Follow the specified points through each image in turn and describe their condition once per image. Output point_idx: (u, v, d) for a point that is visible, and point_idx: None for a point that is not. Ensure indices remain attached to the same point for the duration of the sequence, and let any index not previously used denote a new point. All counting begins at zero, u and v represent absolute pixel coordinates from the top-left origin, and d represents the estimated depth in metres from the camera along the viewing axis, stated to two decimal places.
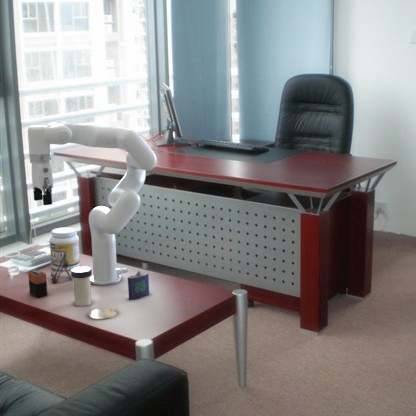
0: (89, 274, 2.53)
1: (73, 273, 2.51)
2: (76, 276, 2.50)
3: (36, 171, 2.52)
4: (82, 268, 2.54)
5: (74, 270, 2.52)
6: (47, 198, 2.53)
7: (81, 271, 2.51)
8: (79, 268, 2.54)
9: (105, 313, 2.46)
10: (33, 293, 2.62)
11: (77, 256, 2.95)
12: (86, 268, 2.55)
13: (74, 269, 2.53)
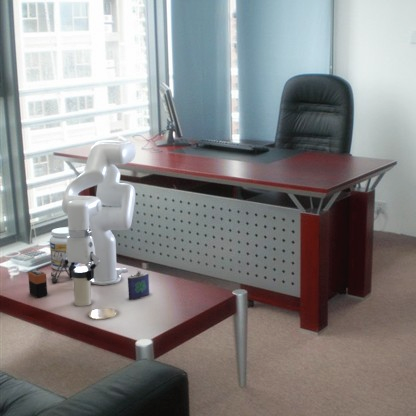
0: None
1: (73, 273, 2.51)
2: (76, 276, 2.50)
3: (80, 247, 2.48)
4: (82, 268, 2.54)
5: (74, 270, 2.52)
6: (91, 273, 2.52)
7: (81, 271, 2.51)
8: (79, 268, 2.54)
9: (105, 313, 2.46)
10: (33, 293, 2.62)
11: None
12: (86, 268, 2.55)
13: (74, 269, 2.53)
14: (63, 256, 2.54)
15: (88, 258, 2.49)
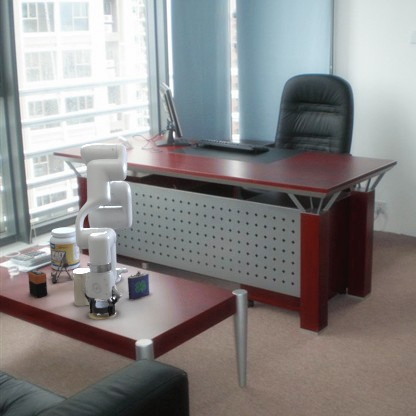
0: None
1: None
2: None
3: None
4: (100, 305, 2.44)
5: (108, 303, 2.46)
6: None
7: (101, 301, 2.47)
8: (103, 305, 2.44)
9: (105, 313, 2.46)
10: (33, 293, 2.62)
11: (77, 256, 2.95)
12: (96, 305, 2.44)
13: None
14: None
15: None
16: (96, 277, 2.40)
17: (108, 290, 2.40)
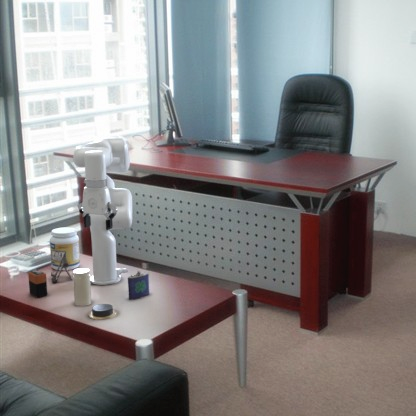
0: None
1: None
2: None
3: None
4: (101, 308, 2.44)
5: (109, 306, 2.47)
6: None
7: (102, 305, 2.48)
8: (104, 308, 2.45)
9: None
10: (33, 293, 2.62)
11: (77, 256, 2.95)
12: (97, 308, 2.44)
13: (109, 307, 2.46)
14: None
15: None
16: (92, 193, 2.50)
17: (104, 205, 2.50)
